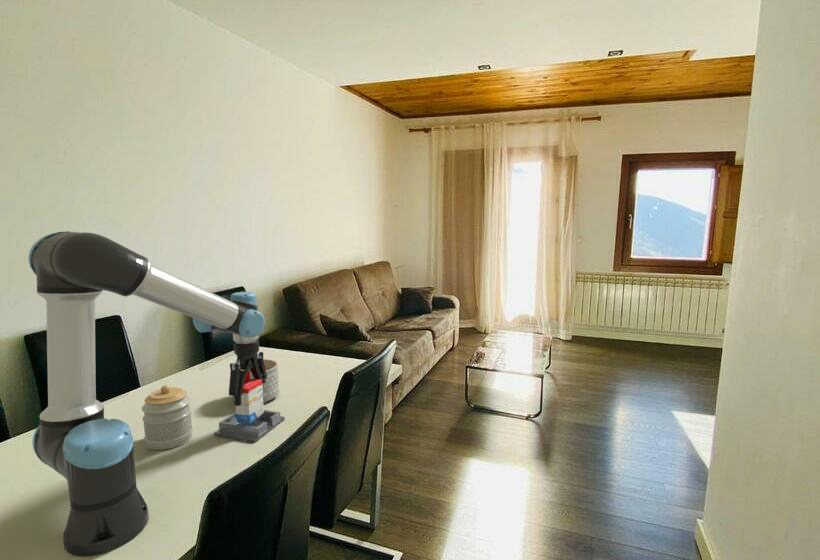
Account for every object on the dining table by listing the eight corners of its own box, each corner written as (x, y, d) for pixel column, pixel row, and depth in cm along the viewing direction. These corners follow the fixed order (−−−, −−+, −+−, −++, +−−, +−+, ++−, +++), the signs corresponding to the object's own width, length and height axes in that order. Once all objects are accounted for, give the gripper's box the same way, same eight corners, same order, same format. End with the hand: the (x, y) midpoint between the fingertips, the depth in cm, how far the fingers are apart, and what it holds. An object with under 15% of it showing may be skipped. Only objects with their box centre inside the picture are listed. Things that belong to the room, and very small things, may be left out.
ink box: (250, 424, 135) (247, 380, 133) (236, 422, 136) (233, 378, 134) (264, 412, 143) (262, 370, 141) (251, 411, 144) (248, 369, 142)
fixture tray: (255, 442, 130) (254, 431, 130) (214, 435, 134) (213, 425, 134) (284, 419, 145) (284, 409, 145) (247, 414, 150) (246, 404, 149)
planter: (224, 404, 158) (222, 371, 156) (250, 387, 173) (249, 357, 172) (263, 409, 154) (262, 375, 152) (287, 391, 170) (285, 360, 168)
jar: (201, 436, 134) (198, 382, 132) (160, 455, 123) (155, 397, 121) (177, 426, 141) (173, 374, 138) (136, 443, 130) (131, 388, 127)
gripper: (233, 351, 125) (237, 424, 128) (276, 332, 145) (278, 396, 148) (212, 349, 127) (216, 421, 130) (257, 331, 147) (260, 393, 150)
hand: (249, 407), depth 139 cm, fingers closed on ink box, 9 cm apart
